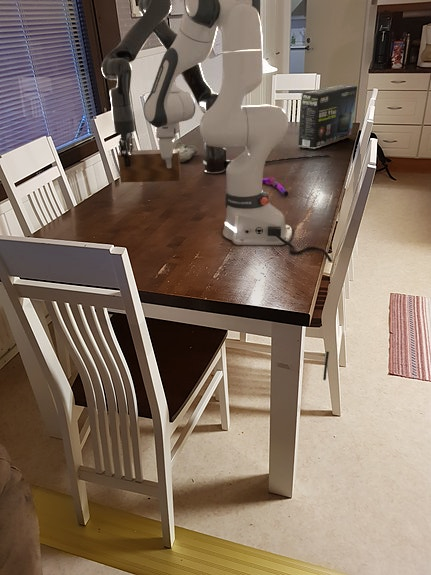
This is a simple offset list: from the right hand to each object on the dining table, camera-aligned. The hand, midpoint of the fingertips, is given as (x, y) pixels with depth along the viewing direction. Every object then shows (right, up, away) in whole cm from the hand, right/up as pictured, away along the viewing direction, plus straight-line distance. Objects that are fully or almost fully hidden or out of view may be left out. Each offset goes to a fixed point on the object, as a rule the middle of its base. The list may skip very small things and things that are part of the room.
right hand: (170, 164), depth 176 cm
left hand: (-16, 0, 0) cm, 16 cm away
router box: (+76, +30, +69) cm, 107 cm away
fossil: (-1, +18, +54) cm, 57 cm away
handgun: (+40, -7, +10) cm, 42 cm away
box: (-8, -5, +3) cm, 9 cm away
